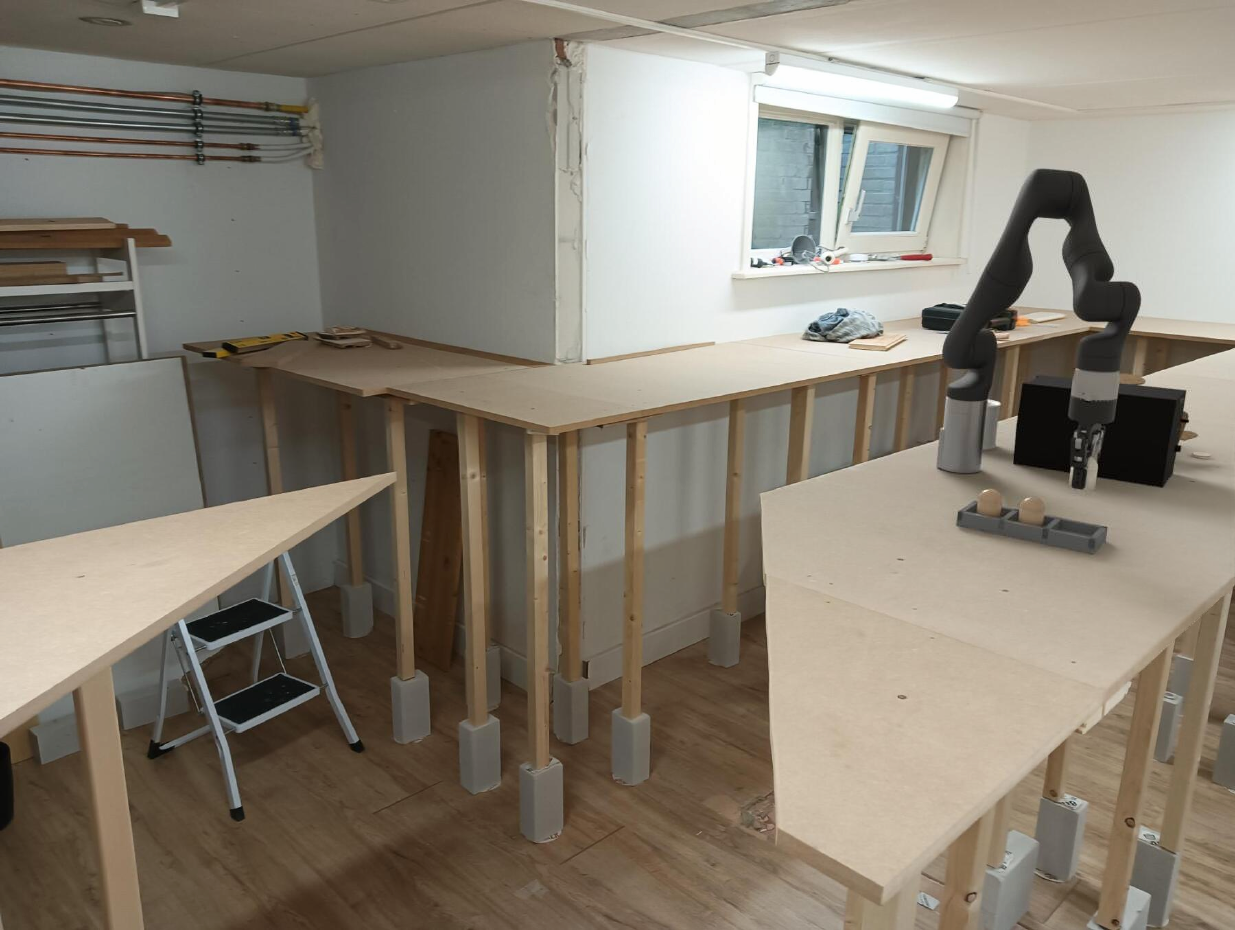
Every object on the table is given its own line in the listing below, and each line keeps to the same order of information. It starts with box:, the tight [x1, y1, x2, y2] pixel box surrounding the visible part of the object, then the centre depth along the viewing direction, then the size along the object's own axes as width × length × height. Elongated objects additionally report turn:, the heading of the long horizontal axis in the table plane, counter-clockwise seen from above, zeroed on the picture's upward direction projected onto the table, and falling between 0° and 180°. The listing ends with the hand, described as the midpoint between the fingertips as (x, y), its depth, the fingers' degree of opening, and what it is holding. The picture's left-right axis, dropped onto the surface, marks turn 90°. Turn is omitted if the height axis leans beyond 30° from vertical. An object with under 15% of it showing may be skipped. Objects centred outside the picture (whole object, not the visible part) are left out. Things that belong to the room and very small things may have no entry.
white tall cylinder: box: [983, 399, 1002, 451], centre depth 244 cm, size 10×9×20 cm
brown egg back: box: [977, 488, 1003, 518], centre depth 186 cm, size 4×4×6 cm
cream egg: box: [1068, 457, 1098, 492], centre depth 173 cm, size 4×4×6 cm
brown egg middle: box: [1018, 496, 1046, 527], centre depth 181 cm, size 4×4×6 cm
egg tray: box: [956, 500, 1109, 555], centre depth 181 cm, size 25×9×3 cm, turn 50°
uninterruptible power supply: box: [1012, 374, 1190, 488], centre depth 222 cm, size 16×34×20 cm, turn 52°
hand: (1081, 485), depth 174 cm, fingers closed on cream egg, 4 cm apart
